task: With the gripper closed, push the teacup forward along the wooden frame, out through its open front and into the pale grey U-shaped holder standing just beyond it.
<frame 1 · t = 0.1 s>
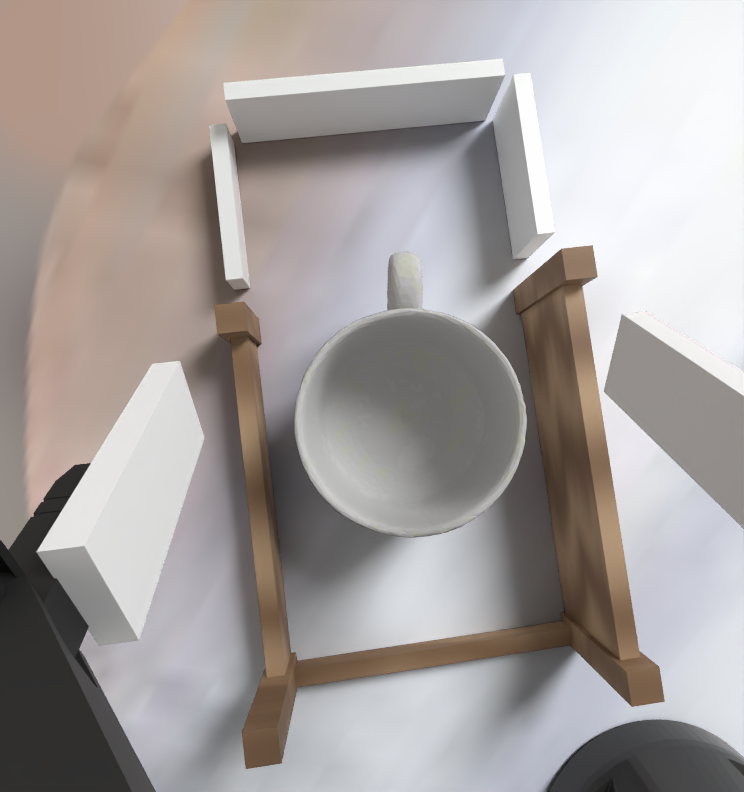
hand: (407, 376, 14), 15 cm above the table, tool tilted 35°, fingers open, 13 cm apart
wooden frame: (409, 476, 29), on the table
teacup: (399, 397, 30), on the table
holder: (373, 198, 30), on the table
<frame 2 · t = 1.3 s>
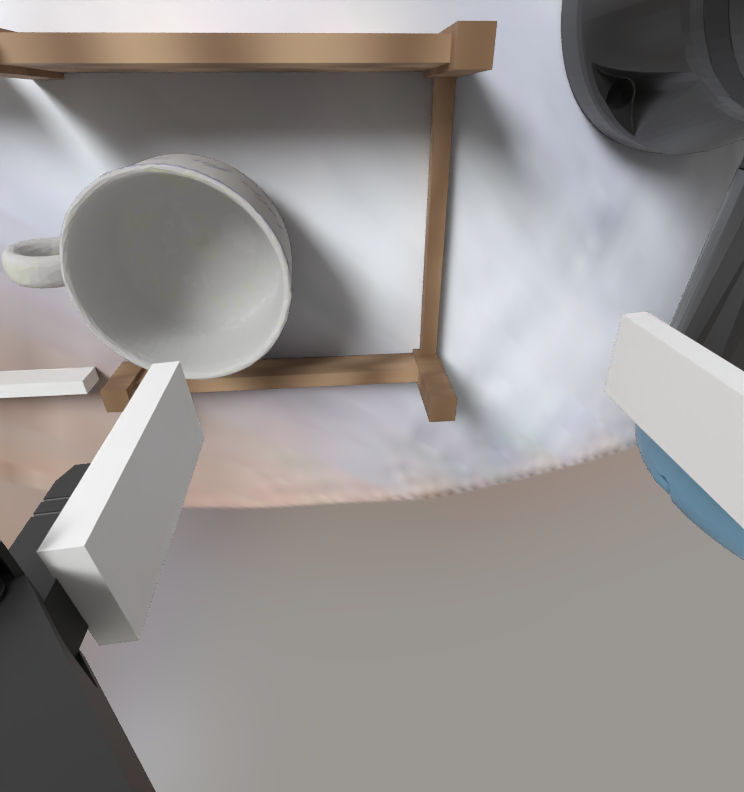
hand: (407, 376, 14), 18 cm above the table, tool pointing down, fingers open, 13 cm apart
wooden frame: (267, 237, 29), on the table
teacup: (186, 238, 29), on the table
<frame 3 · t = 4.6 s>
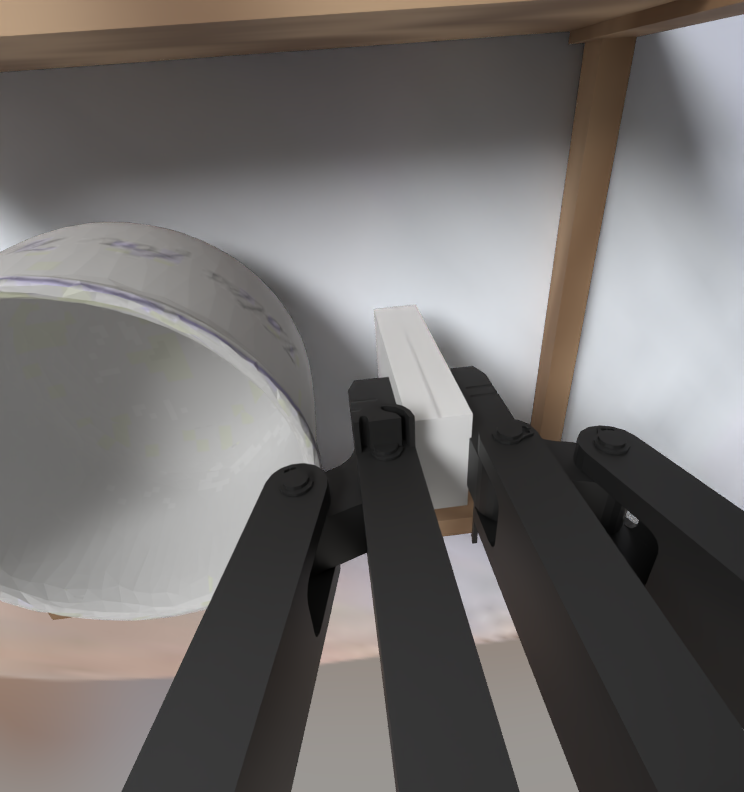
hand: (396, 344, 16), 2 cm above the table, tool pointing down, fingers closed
wooden frame: (290, 331, 18), on the table
teacup: (134, 344, 18), on the table, touching gripper
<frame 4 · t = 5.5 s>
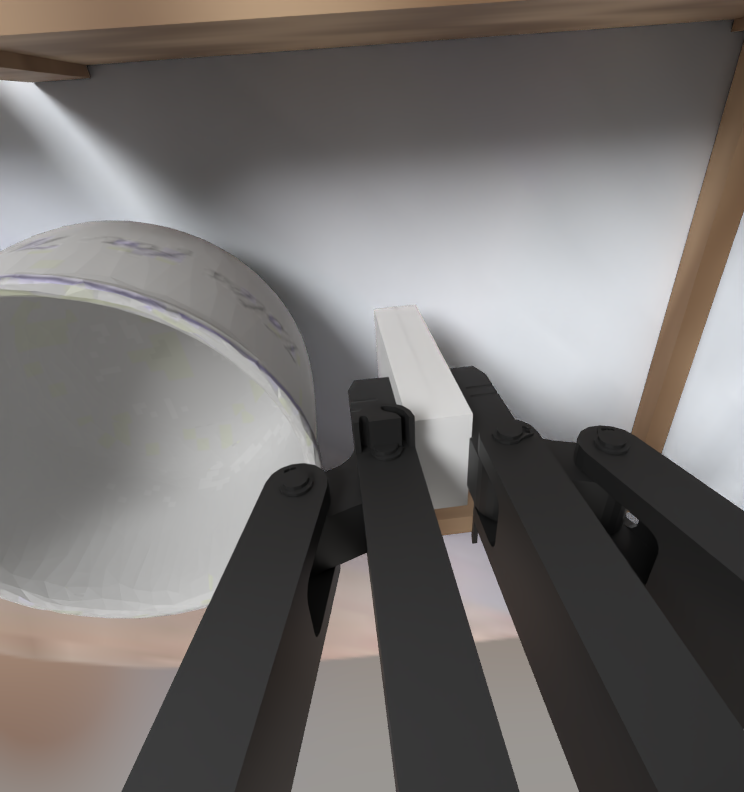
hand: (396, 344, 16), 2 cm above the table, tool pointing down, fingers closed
wooden frame: (422, 316, 18), on the table
teacup: (135, 343, 18), on the table, touching gripper
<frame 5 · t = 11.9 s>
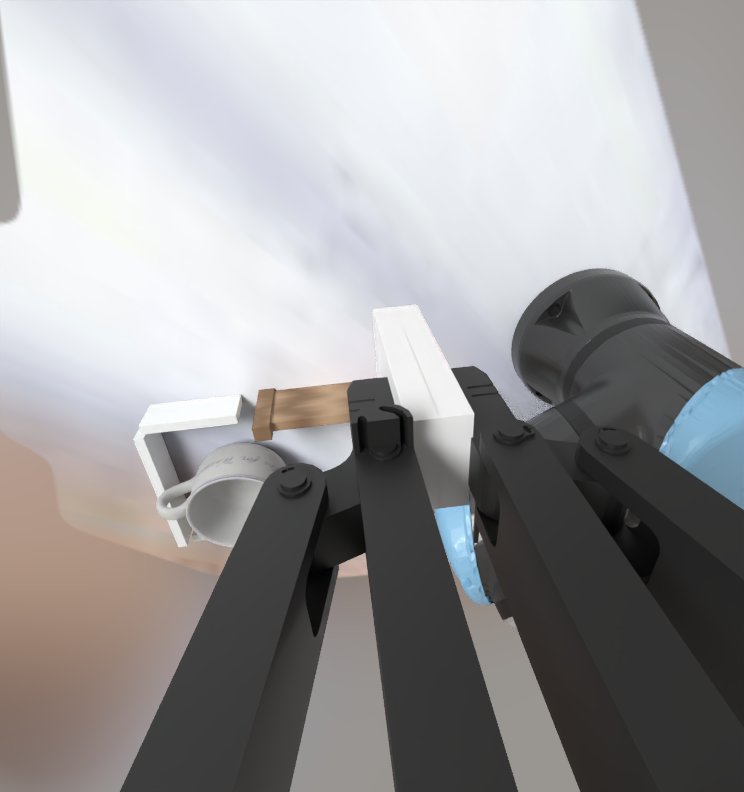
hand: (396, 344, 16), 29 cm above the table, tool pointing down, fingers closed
wooden frame: (367, 449, 56), on the table
teacup: (233, 464, 55), on the table
holder: (215, 467, 55), on the table
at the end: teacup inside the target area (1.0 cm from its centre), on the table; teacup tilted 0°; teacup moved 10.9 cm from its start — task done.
